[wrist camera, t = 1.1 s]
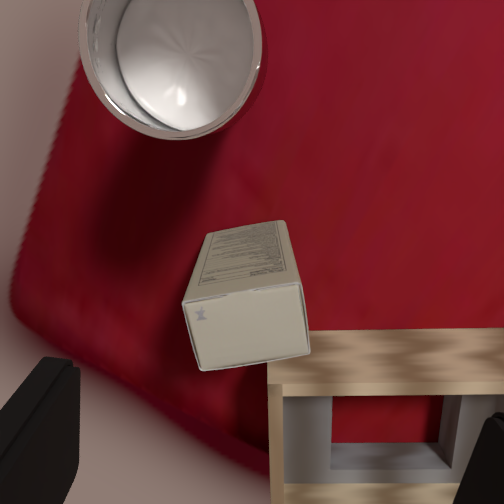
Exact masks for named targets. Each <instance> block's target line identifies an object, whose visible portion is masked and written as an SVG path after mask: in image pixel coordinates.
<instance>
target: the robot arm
mask: <svg viewBox="0 0 504 504" xmlns="http://www.w3.org/2000/svg"><path fill="white" fill-rule="evenodd" d="M79 429H80V368H79V367H73V362H72V360H70V359H62V358H54V357H43V358H42V359H41V360H40V362H39V363H38V364H37V365H36V367H35V368H34V369H33V370H32V371H31V373H30V374H29V375H28V376H27V378H26V379H25V380H24V381H23V383H22V384H21V385H20V386H19V388H18V389H17V390H16V391H15V393H14V394H13V395H12V396H11V398H10V399H9V400H8V401H7V403H6V404H5V405H4V406H3V408H2V409H1V410H0V504H63V502H64V501H65V498H66V496H67V494H68V492H69V489H70V488H71V485H72V483H73V481H74V479H75V476H76V473H77V470H78V465H79V434H80V433H79V432H80V431H79ZM453 504H504V412H495V413H494V414H493V415H492V416H491V417H489V418H487V419H486V420H485V422H484V424H483V426H482V429H481V432H480V434H479V437H478V439H477V442H476V444H475V447H474V449H473V452H472V455H471V457H470V460H469V462H468V465H467V467H466V470H465V472H464V475H463V477H462V480H461V483H460V485H459V488H458V490H457V493H456V495H455V498H454V500H453Z"/></svg>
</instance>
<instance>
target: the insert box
mask: <svg viewBox="0 0 504 504" xmlns="http://www.w3.org/2000/svg"><path fill="white" fill-rule="evenodd" d="M309 340H310V349H311V352H310V354H309V355H303V356H298V357H293V358H287V359H282V360H276V361H271V362H267V383H268V420H269V457H270V491H271V492H270V493H271V504H453V500H454V498H455V495H456V493H457V490H458V488H459V485H460V483H461V480H462V477H463V475H464V472H465V470H466V467H467V465H468V462H469V460H470V457H471V455H472V452H473V449H474V447H475V444H476V442H477V439H478V437H479V434H480V432H481V429H482V426H483V424H484V422H485V420H486V419H487V418H489V417H491V416H492V415H493V414H494V413H495V412H504V328H466V329H403V330H340V331H309ZM371 395H444V401H443V408H442V416H441V424H440V431H439V439H438V443H331V425H332V396H371Z"/></svg>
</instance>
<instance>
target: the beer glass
mask: <svg viewBox="0 0 504 504" xmlns="http://www.w3.org/2000/svg"><path fill="white" fill-rule="evenodd" d="M78 42H79V50H80V55H81V60H82V64H83V67H84V70H85V73H86V75H87V78H88V80H89V82H90V84H91V86H92V88H93V90H94V91H95V93H96V95H97V96H98V97H99V99H100V100H101V102H102V103H103V104H104V105H105V106H106V108H107V109H108V110H109V111H110V112H111V113H112V114H113V115H114V116H115V117H117V118H118V119H119V120H120V121H122V122H123V123H124V124H126V125H127V126H129V127H130V128H132V129H134V130H136V131H138V132H140V133H142V134H145V135H148V136H151V137H154V138H158V139H164V140H188V139H193V138H201V137H206V136H210V135H213V134H215V133H218V132H220V131H223V130H225V129H227V128H228V127H230V126H232V125H233V124H235V123H236V122H237V121H239V120H240V119H241V118H242V117H243V116H244V115H245V114H246V113H247V112H248V111H249V109H250V108H251V107H252V105H253V104H254V102H255V101H256V99H257V97H258V95H259V93H260V91H261V89H262V86H263V83H264V80H265V77H266V72H267V66H268V43H267V37H266V32H265V28H264V24H263V21H262V18H261V15H260V12H259V10H258V8H257V6H256V4H255V2H254V0H83V2H82V5H81V9H80V15H79V23H78Z"/></svg>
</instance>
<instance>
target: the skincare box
mask: <svg viewBox="0 0 504 504" xmlns="http://www.w3.org/2000/svg"><path fill="white" fill-rule="evenodd" d="M182 307H183V311H184V315H185V319H186V323H187V328H188V332H189V336H190V340H191V343H192V347H193V350H194V354H195V357H196V360H197V363H198V367H199V369H200V370H201V371H209V370H218V369H226V368H235V367H241V366H247V365H253V364H259V363H265V362H271V361H276V360H282V359H287V358H293V357H298V356H303V355H309V354H310V352H311V349H310V340H309V330H308V322H307V314H306V307H305V300H304V294H303V288H302V283H301V280H300V276H299V272H298V269H297V265H296V261H295V257H294V253H293V249H292V246H291V242H290V238H289V234H288V230H287V227H286V223H285V221H284V220H278V221H271V222H265V223H259V224H253V225H247V226H242V227H236V228H231V229H226V230H222V231H217V232H213V233H208V234H206V237H205V240H204V242H203V245H202V248H201V251H200V254H199V256H198V259H197V262H196V265H195V268H194V270H193V273H192V276H191V279H190V282H189V285H188V287H187V290H186V293H185V296H184V298H183V301H182Z"/></svg>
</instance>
